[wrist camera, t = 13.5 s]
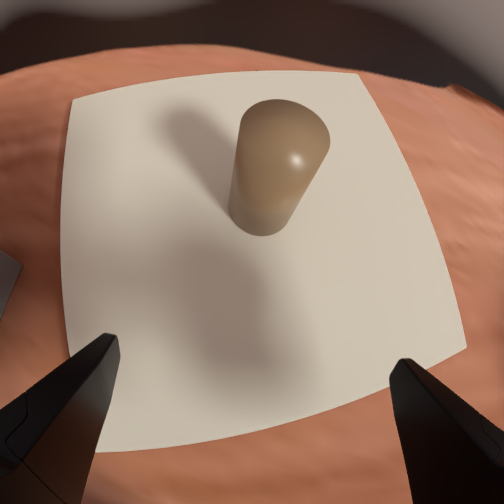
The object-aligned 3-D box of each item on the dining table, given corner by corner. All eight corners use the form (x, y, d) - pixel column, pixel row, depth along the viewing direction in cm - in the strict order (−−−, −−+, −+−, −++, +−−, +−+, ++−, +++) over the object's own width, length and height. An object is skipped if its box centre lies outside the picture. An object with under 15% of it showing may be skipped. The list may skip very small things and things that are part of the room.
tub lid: (106, 441, 13) (34, 496, 5) (81, 119, 19) (47, 32, 11) (444, 350, 17) (543, 334, 9) (347, 92, 23) (385, 17, 15)
